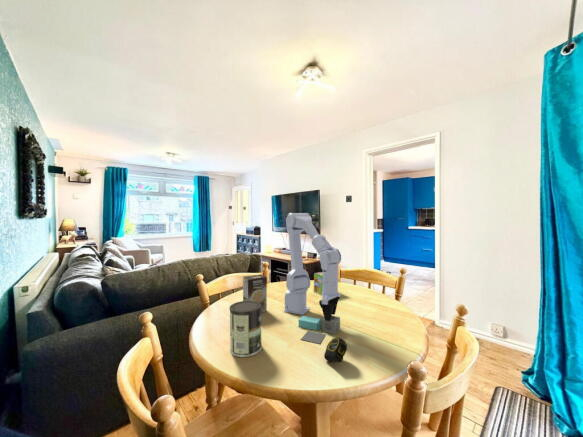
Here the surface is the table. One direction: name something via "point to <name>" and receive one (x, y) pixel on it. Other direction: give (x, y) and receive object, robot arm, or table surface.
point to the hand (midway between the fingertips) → (330, 317)
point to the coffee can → (245, 328)
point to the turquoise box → (310, 322)
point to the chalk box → (318, 283)
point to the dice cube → (331, 325)
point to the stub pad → (313, 337)
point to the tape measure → (335, 350)
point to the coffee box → (255, 290)
